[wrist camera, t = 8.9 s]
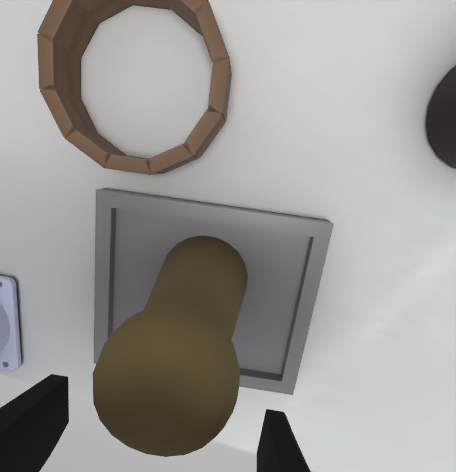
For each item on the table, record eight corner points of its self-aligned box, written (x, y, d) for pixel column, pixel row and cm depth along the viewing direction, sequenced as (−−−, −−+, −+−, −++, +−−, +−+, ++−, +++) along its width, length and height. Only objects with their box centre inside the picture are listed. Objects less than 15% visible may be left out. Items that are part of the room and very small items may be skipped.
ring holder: (68, 160, 18) (41, 159, 16) (66, -21, 16) (34, -55, 13) (218, 181, 18) (214, 183, 16) (240, 1, 15) (239, -30, 13)
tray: (101, 352, 22) (93, 363, 21) (105, 188, 18) (96, 189, 17) (290, 382, 21) (292, 394, 20) (327, 220, 18) (333, 223, 17)
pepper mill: (259, 302, 19) (279, 468, 9) (181, 326, 20) (111, 505, 10) (230, 222, 18) (209, 303, 7) (147, 252, 19) (22, 362, 8)
